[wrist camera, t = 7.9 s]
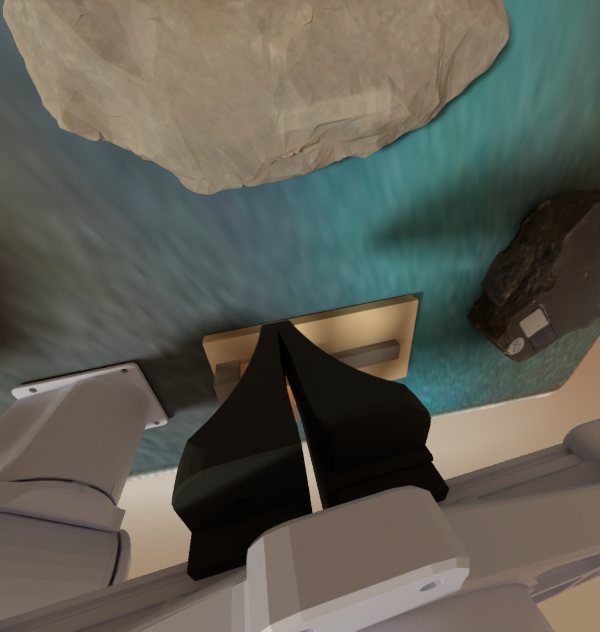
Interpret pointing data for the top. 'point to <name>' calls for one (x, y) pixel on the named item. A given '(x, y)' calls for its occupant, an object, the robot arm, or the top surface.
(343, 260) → the top surface
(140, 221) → the top surface
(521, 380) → the top surface
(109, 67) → the stone tool
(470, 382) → the top surface
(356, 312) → the rail board
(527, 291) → the rock sample
